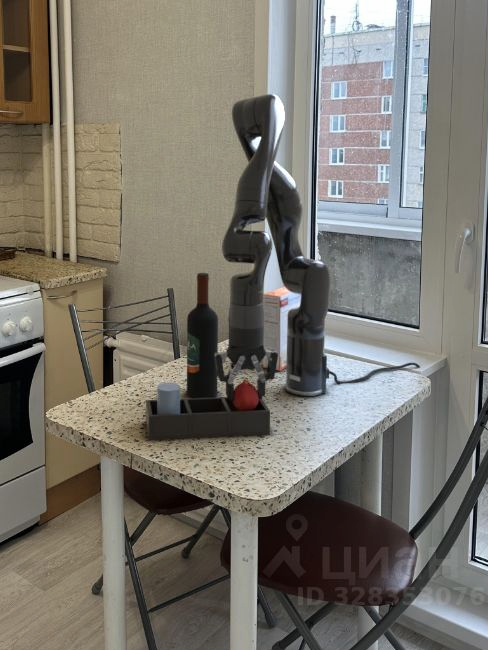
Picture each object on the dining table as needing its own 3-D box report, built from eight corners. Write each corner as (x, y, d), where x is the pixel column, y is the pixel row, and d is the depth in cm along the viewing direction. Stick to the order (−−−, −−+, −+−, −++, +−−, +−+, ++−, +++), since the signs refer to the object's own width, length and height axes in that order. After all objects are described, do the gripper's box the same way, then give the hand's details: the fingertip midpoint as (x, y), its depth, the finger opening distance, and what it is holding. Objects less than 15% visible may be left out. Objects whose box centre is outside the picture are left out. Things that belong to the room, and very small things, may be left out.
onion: (230, 409, 149) (230, 374, 148) (255, 408, 149) (256, 373, 148) (234, 420, 143) (234, 383, 142) (261, 419, 143) (261, 382, 143)
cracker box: (284, 355, 197) (285, 284, 195) (302, 359, 193) (304, 287, 191) (260, 367, 185) (261, 293, 183) (280, 372, 182) (281, 296, 180)
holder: (259, 417, 151) (260, 395, 151) (269, 434, 142) (270, 411, 142) (145, 422, 148) (145, 400, 148) (148, 440, 139) (148, 416, 139)
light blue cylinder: (178, 422, 147) (178, 382, 146) (181, 431, 142) (181, 390, 141) (155, 423, 146) (156, 383, 146) (157, 432, 141) (157, 391, 141)
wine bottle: (214, 401, 161) (215, 277, 158) (183, 398, 162) (184, 276, 160) (219, 389, 168) (220, 271, 166) (189, 387, 170) (190, 270, 167)
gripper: (216, 328, 140) (215, 407, 141) (283, 326, 141) (282, 403, 143) (210, 319, 147) (210, 393, 149) (274, 317, 149) (273, 390, 150)
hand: (245, 398), depth 146 cm, fingers closed on onion, 5 cm apart
